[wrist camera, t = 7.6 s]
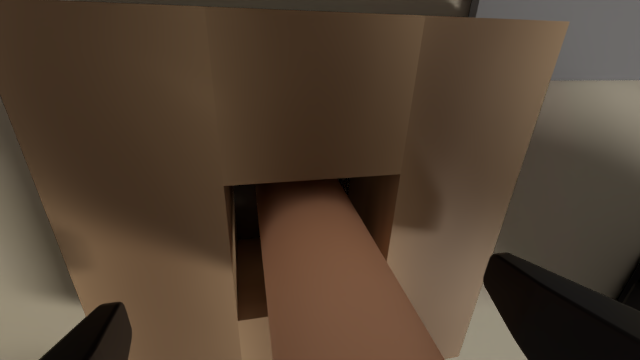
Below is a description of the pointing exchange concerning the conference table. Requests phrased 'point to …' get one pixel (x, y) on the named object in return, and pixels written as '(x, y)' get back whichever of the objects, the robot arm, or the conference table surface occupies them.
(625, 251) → the conference table surface
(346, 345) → the peg
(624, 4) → the mat
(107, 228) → the socket block
